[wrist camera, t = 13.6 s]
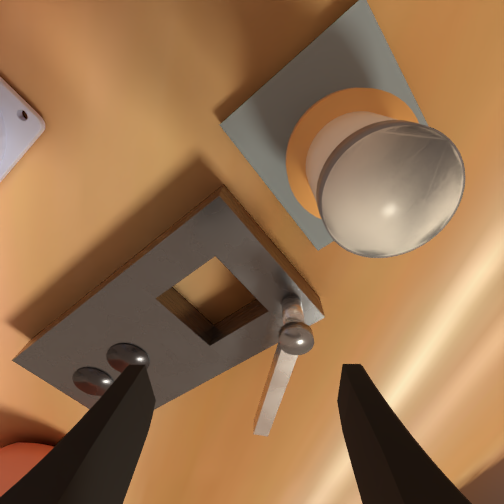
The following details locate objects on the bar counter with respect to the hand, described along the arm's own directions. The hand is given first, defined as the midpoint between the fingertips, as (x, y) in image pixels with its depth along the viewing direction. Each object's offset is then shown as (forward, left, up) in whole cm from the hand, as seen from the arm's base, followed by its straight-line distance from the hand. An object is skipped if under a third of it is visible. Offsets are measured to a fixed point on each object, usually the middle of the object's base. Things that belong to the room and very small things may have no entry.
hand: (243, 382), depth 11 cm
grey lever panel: (0, -8, -9) cm, 13 cm away
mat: (-3, +8, -9) cm, 12 cm away
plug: (-2, +8, -9) cm, 12 cm away
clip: (+6, -2, -7) cm, 10 cm away
